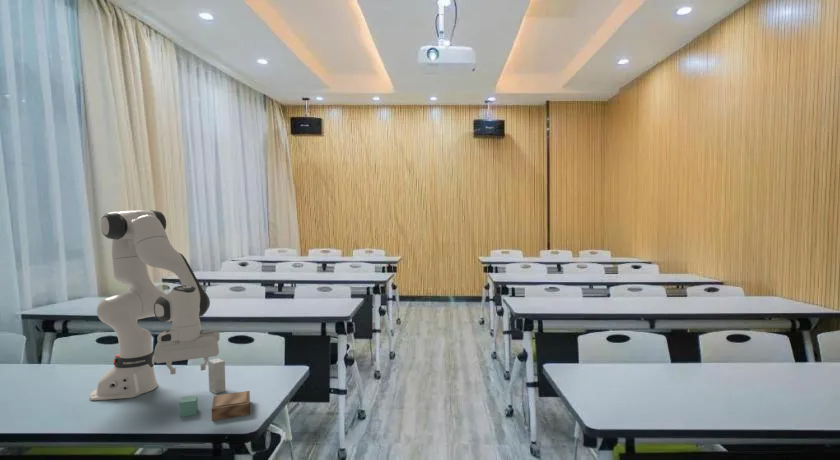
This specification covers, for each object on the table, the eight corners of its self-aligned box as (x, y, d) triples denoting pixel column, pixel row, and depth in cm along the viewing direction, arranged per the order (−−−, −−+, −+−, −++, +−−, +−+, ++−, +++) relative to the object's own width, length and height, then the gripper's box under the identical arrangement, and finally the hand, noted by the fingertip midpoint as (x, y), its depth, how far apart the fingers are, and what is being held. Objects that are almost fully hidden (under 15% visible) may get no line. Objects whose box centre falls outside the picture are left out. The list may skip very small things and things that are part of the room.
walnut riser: (212, 420, 153) (211, 408, 153) (214, 406, 164) (214, 394, 164) (250, 414, 157) (249, 402, 157) (249, 401, 168) (249, 389, 168)
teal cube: (180, 417, 156) (179, 402, 156) (182, 411, 161) (181, 397, 161) (196, 414, 158) (195, 400, 158) (197, 408, 163) (197, 395, 162)
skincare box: (226, 391, 179) (225, 361, 178) (215, 394, 175) (214, 363, 175) (219, 387, 183) (218, 357, 182) (208, 390, 180) (207, 360, 179)
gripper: (219, 327, 165) (221, 364, 165) (155, 333, 158) (157, 373, 158) (218, 331, 159) (220, 370, 159) (151, 338, 152) (153, 379, 152)
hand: (188, 371), depth 159 cm, fingers open, 8 cm apart
